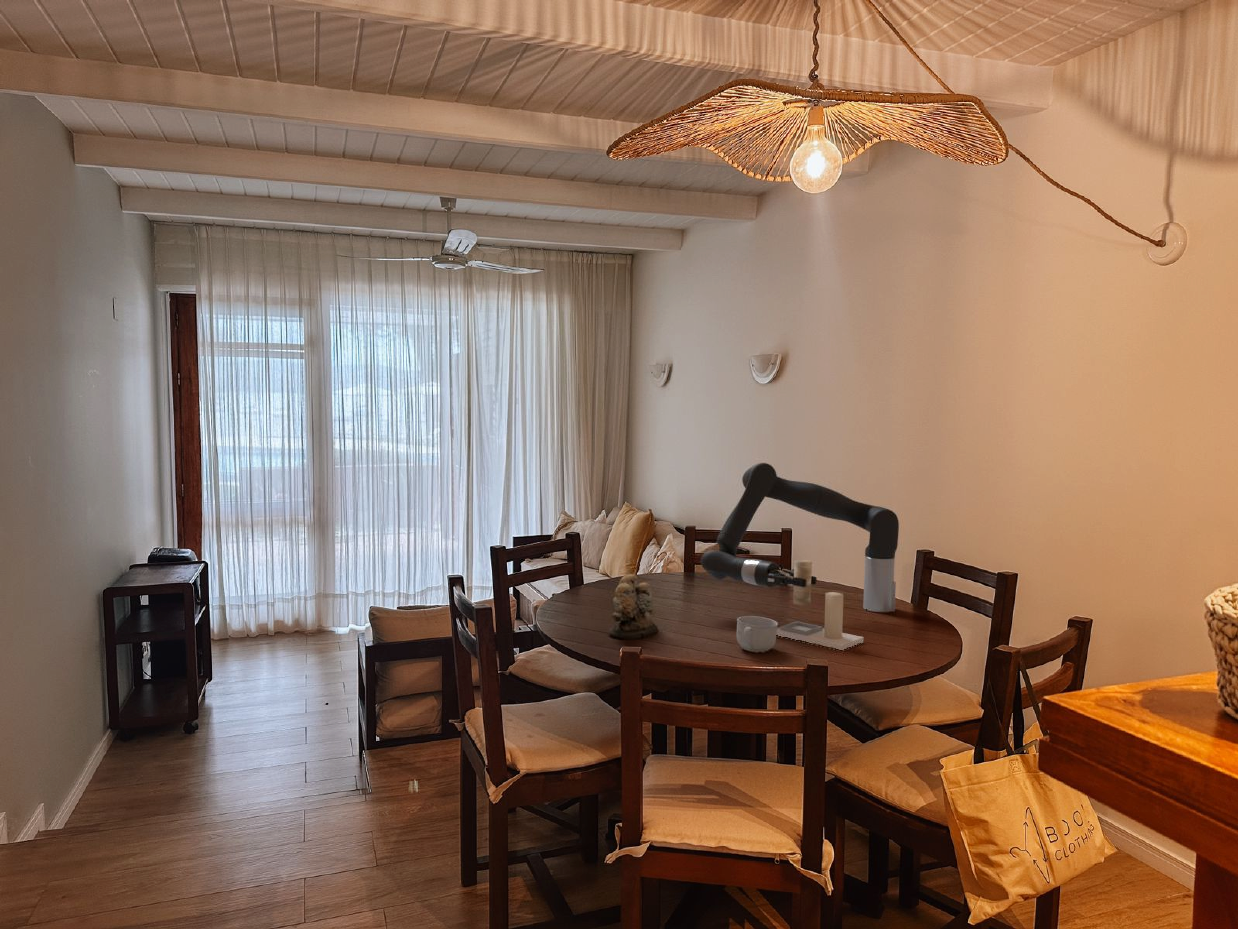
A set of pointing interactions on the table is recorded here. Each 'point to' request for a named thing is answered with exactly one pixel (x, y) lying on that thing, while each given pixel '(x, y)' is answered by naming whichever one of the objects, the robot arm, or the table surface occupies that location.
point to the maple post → (802, 571)
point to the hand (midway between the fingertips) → (810, 582)
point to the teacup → (756, 633)
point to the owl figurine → (633, 610)
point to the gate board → (822, 639)
